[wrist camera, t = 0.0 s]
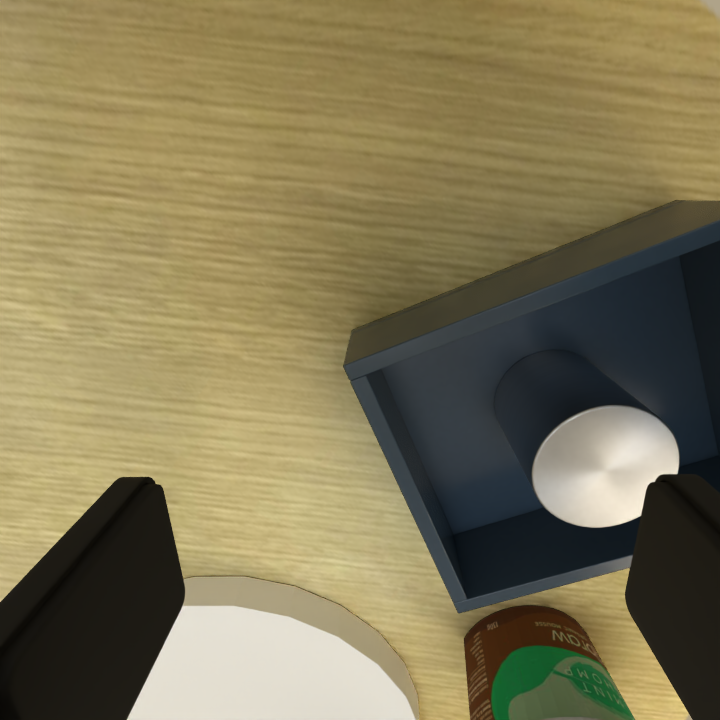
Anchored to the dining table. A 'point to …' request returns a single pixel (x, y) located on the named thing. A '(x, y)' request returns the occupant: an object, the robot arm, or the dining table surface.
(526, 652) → the food container
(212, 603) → the plate
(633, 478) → the brushed metal cylinder
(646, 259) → the dark blue-grey open box
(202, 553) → the dining table surface
